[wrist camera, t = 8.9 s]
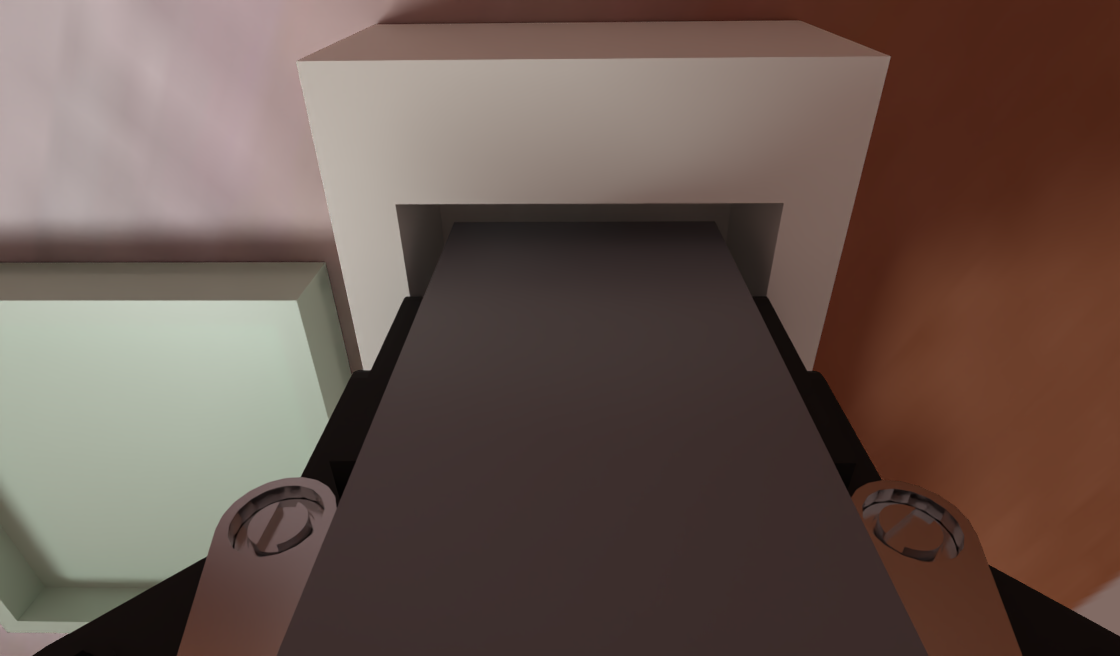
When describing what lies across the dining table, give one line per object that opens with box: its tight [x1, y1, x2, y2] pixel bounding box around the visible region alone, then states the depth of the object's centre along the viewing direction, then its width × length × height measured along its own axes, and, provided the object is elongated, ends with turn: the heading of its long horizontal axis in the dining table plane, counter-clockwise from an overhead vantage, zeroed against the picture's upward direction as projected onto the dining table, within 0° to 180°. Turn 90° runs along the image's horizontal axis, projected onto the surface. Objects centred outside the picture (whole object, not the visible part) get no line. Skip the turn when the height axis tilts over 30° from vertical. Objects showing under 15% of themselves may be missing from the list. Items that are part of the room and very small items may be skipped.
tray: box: [0, 262, 352, 633], centre depth 17 cm, size 12×12×2 cm
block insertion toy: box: [296, 20, 891, 371], centre depth 13 cm, size 8×20×11 cm, turn 1°
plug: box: [277, 221, 928, 656], centre depth 8 cm, size 4×4×10 cm
